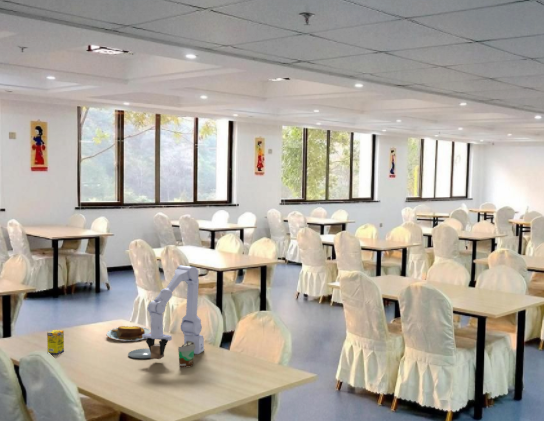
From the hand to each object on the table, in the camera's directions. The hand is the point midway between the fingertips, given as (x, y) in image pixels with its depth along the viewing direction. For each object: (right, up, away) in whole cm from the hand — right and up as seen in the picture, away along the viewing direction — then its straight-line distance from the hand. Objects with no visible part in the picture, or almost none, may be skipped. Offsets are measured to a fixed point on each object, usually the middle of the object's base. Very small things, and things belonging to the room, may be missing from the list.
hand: (157, 354), depth 321 cm
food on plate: (-23, -1, +49) cm, 54 cm away
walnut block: (0, -2, 0) cm, 2 cm away
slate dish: (-9, -3, +13) cm, 16 cm away
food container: (+16, -5, -4) cm, 17 cm away
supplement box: (-54, -3, +18) cm, 57 cm away
